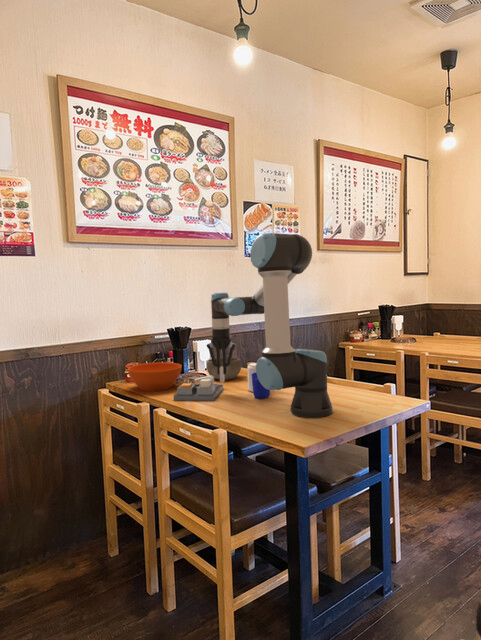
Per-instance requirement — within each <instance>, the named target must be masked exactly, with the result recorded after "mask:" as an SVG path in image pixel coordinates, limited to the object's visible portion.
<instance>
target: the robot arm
mask: <svg viewBox="0 0 481 640" xmlns="http://www.w3.org/2000/svg"><path fill="white" fill-rule="evenodd" d="M249 256H250V257H249V258H250V262H251V264H252V266H253V267H254V268H256V269H257V274H258V275H259V276H260V277H261V279H262V285H261V286H260V288H259V289H258V290H257V291H256V293H254V294H253V296H241V297H240V296H235V297H232V296H229V294H228V292H213V293H212V294H211V298H210V299H211V300H210V304H211V305H210V306H211V307H210V308H211V327H212V330H211V332H212V333H211V335H212V337H211V342H209V343H207V344H206V347H207V349H208V351H209V352H208V353H209V354H210V358H211V359H212V363H213V365H214V366H217V372H218V374H220V380H219V382H220V383H224V382H225V381H226V380H225V377H224V374H226V373H227V366H229V365H230V364H231V360H232V357H233V353H234V350H235V348H236V346H237V345H236V343H234V342H232V340H231V338H230V336H231V335H230V328H229V327H230V316H231V317H238V316H245V315H246V316H247V315H264V331H265V333H264V336H265V347H264V348H263V349H262V351H261V357H259V358H258V359H257V361H256V362H255V363H256V373H257V377H258V379H259V381H260V383H261V385H262V386H263V387H264V388H266V389H268V390H270V391H281V390H285V389H291V388H294V394H293V397H292V400H291V404H290V413H291V414H292V415H294V416H297V417H300V418H301V417H302V418H309V419H310V418H325V417H327V416H331V415H332V414H333V405H332V402H331V399H330V396H329V393H328V359H327V354H326V353H325V351H322V350H317V349H308V348H294V347H292V345H291V332H290V331H291V330H290V329H291V328H290V324H291V323H290V307H289V305H290V304H289V284H290V283H291V281H293V279H294V278H295V277H296V276H297V275H300V274H303V273H304V271H305V270H306V269H307V268H308V267H309V265H310V264H311V261H312V258H313V248H312V245H311V244H310V242H309V240H307V238H306V237H304V236H303V235H300V234H294V233H293V234H290V233H275V232H269V233H261V234H259V235H258V236H256V237H255V239H254V241H253V242H252V245H251V249H250V255H249ZM213 347H214V348H215V349H216V356H215V351H214V349H213ZM228 347H230V349H229V353H228V357H227V349H228ZM221 353H222V355H221ZM216 358H217V362H216ZM221 358H223V366H221ZM226 358H228V362H227V360H226ZM330 414H331V415H330ZM324 416H325V417H324Z"/></svg>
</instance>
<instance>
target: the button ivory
mask: <svg viewBox="0 0 481 640" xmlns="http://www.w3.org/2000/svg"><path fill="white" fill-rule="evenodd" d="M199 384H200V386H201V388H210V387H211V379H202V380H201V381H199Z"/></svg>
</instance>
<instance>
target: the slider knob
mask: <svg viewBox="0 0 481 640" xmlns="http://www.w3.org/2000/svg"><path fill="white" fill-rule="evenodd" d="M205 377H206V376H205ZM206 379H211V385H214V384H215V379H214V377H206Z"/></svg>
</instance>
